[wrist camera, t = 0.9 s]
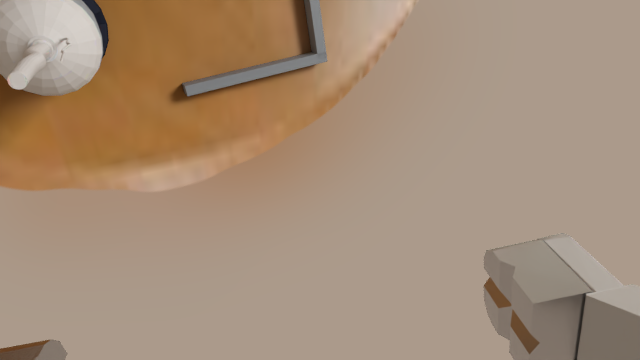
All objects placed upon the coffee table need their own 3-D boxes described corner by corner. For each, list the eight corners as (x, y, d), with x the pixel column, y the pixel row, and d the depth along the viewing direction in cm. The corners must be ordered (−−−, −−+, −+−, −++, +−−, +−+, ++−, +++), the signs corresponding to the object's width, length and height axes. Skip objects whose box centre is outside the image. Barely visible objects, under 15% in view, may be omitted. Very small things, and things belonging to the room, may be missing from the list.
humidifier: (-28, 1, 37) (-169, 28, 16) (71, -41, 39) (57, -65, 18) (39, 92, 42) (-6, 207, 21) (126, 51, 43) (165, 117, 22)
